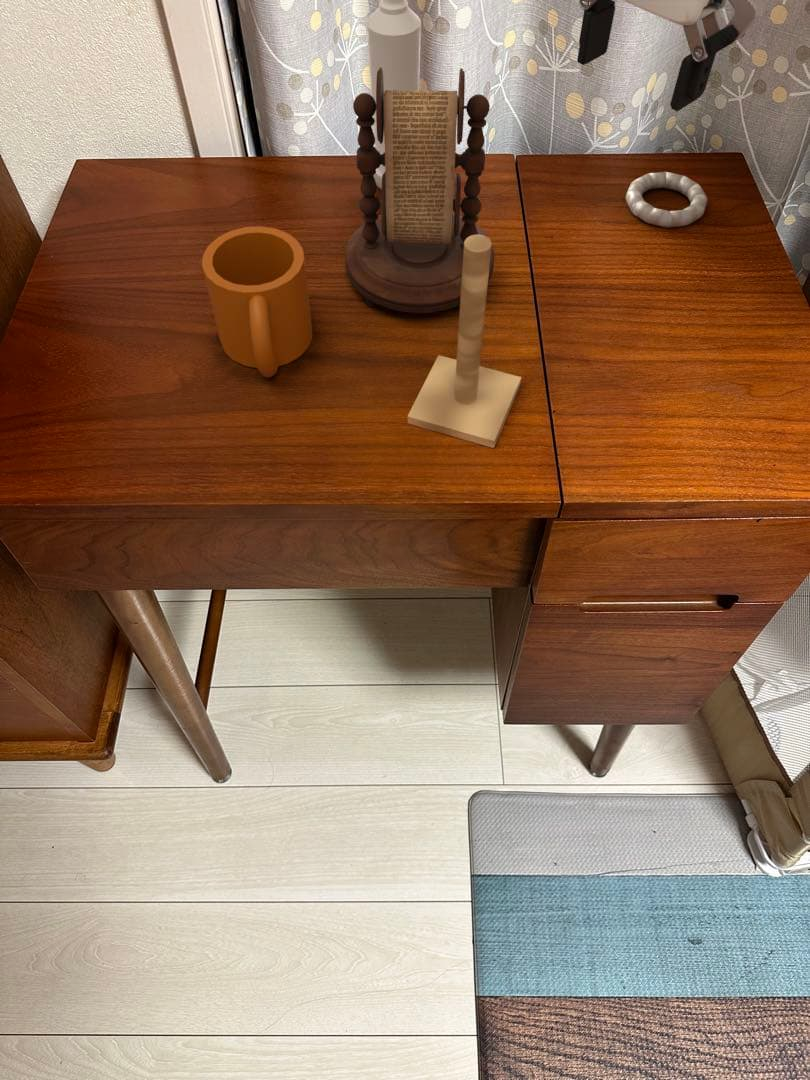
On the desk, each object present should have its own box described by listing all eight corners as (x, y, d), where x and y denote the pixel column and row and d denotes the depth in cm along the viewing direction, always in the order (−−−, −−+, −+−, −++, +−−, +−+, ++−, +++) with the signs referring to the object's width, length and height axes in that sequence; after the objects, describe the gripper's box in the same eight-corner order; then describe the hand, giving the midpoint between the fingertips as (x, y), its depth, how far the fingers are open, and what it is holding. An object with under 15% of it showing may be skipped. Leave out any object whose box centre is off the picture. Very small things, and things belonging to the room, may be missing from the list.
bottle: (373, 167, 92) (362, -97, 71) (419, 166, 92) (421, -97, 71) (373, 195, 89) (361, -71, 68) (419, 194, 89) (422, -72, 68)
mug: (205, 392, 74) (182, 315, 66) (229, 303, 80) (210, 223, 73) (303, 396, 73) (291, 320, 66) (319, 306, 80) (310, 227, 72)
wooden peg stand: (520, 384, 74) (546, 222, 60) (493, 448, 70) (514, 290, 56) (438, 362, 75) (444, 199, 61) (407, 423, 71) (406, 264, 57)
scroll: (341, 323, 78) (322, 122, 62) (351, 227, 86) (337, 26, 70) (494, 326, 78) (517, 124, 61) (490, 229, 86) (509, 27, 69)
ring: (709, 192, 89) (714, 178, 88) (696, 237, 85) (700, 224, 84) (634, 176, 91) (637, 162, 90) (617, 219, 87) (620, 206, 85)
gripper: (848, -167, 51) (751, 105, 65) (629, -231, 58) (585, 27, 72) (780, -134, 48) (695, 141, 62) (559, -206, 55) (528, 57, 69)
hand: (636, 80), depth 67 cm, fingers open, 9 cm apart
